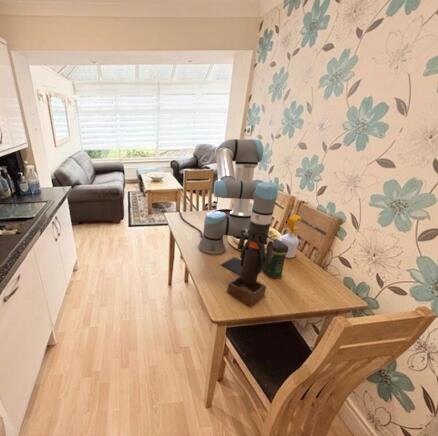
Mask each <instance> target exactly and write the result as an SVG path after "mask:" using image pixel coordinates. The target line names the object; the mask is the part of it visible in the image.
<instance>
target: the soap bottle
mask: <svg viewBox="0 0 438 436" xmlns="http://www.w3.org/2000/svg"><path fill="white" fill-rule="evenodd" d="M301 218H302V216H300V215H298V214H293V215H291V216H289V218H287V223H286V227H287V228H289V229H290V230H288V233H286V234H283V235H281V237H280V239H279V240H280V241H282V242H283V243H284V244H286V245H287V246H288V253H287V254H286V256H285V258H288V259H292V258H295V256H296V255H297V251H298V248H299V243H300V239H299V238H298V237H297V236H295V235H296V230H299V226H296V222H297V221H298V220H300V219H301Z"/></svg>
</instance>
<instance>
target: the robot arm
mask: <svg viewBox="0 0 438 436" xmlns="http://www.w3.org/2000/svg"><path fill="white" fill-rule="evenodd" d="M213 158H214V161H215V163H216V172H217V179H216V180H215V181H214V183H213V196H214V197H215V198H218V199H219V198H221V199H233V203H232V205H233V206H232V210H231V211H230V212H229V215H227V213H226V212H224V211H219V210H218V211H217V210H215V211H210V212H207V214H206V215H204V221H203V222H204V225H203V233H202V230H201V229H199V228H197V227H196V226H194V225H193V224H191V223H190V222H188V221H187V220H185V218H184V217H183V215H182V213H181V210H180V209H178V210H177V212H179V215H180V218H181V219H182V220H183V221H184V222H185V223H186V224H187V225H190V226H191V227H193V228H194V229H196V230H197V231H198V232H200V237H201V240H200V241H199V244H198V249H199V251H201V252H203V253H204V254H206V255H212V256H217V255H222V254H223V253H224V252H225V249H226V243H225V242H224V236H228V237H229V236H230V237H239V241H238V243H237V247H236V249H237V250H239V251H240V260H241V265H240V266H242V265H243V260H244V255H245V250H246V249H247V248H248V247H249V243H250V241H254V242H256V243H257V244H258V247H259V253H260V261H259V262H258V266H257V270H256V274H257V275H258V276H259V274H261V273H262V268H264V266H265V262H266V263H268V262H270V261H271V257H272V249H273V244H274V243H275V240H271V239H272V238H270V237H269V232H270V228H271V223H272V219H273V214H274V210H275V206H276V202H277V198H278V195H279V186H278V185H277V184H276V183H273V182H267V181H263V180H261V179H254V174H255V168H257V167H258V166H259V163H261V162H262V161H263V158H264V146H263V143H262V141H261V140H260V139H254V138H251V139H250V138H243V139H242V138H236V139H235V138H231V139H227V140H224V141H223V142H221V143H219V145H218V146H217V147H216V148H215V150H214V155H213ZM233 162H234V163H233ZM234 165H235V167H236V168H237V170H236V174H235V167H234ZM251 200H253V203H252V209H251V212H250V205H251ZM246 238H247V240H246ZM261 243H262V244H261ZM267 244H268V245H267ZM265 245H266V246H265Z"/></svg>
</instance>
